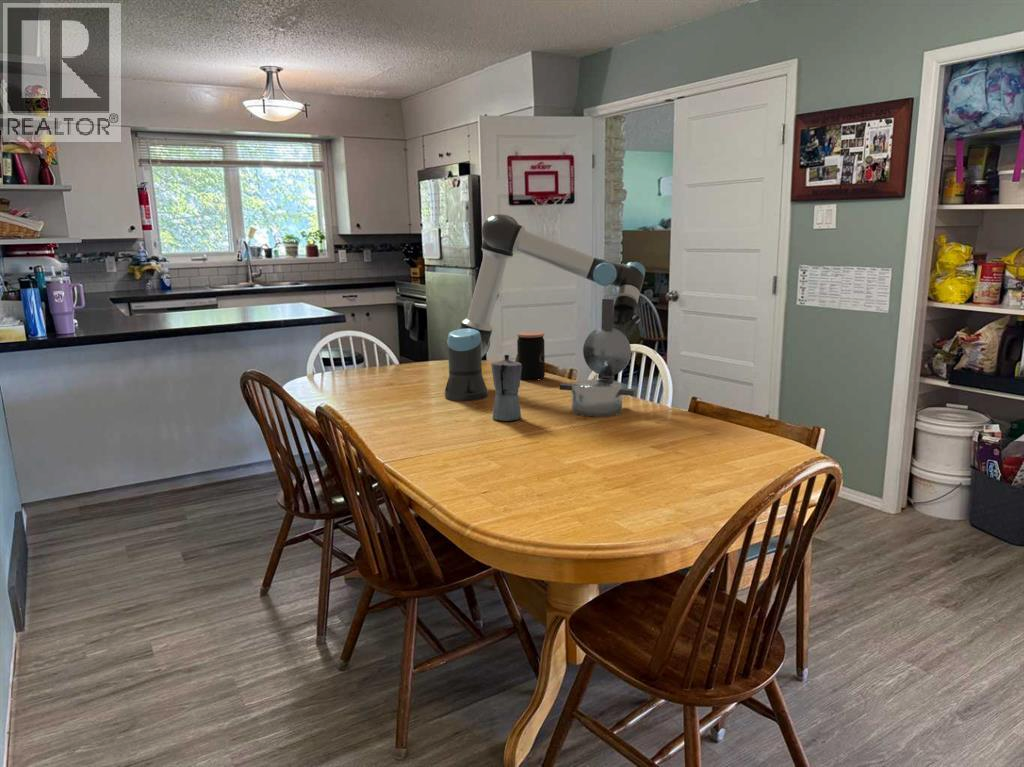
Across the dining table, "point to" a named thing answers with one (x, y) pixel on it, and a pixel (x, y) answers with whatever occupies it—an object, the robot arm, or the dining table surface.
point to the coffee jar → (531, 355)
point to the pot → (597, 397)
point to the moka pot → (506, 389)
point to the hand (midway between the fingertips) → (611, 357)
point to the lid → (607, 346)
